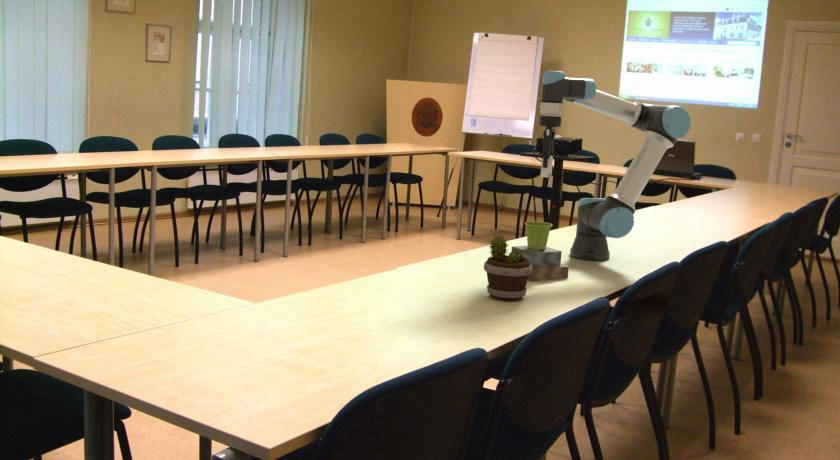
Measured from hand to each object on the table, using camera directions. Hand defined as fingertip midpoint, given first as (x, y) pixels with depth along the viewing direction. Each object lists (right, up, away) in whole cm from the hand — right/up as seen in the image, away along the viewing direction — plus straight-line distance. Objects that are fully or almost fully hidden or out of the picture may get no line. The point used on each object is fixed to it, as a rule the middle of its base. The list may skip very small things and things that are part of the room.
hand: (546, 175), depth 292 cm
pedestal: (-6, -35, -11) cm, 37 cm away
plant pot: (-5, -26, -12) cm, 29 cm away
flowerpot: (-19, -40, -44) cm, 63 cm away
